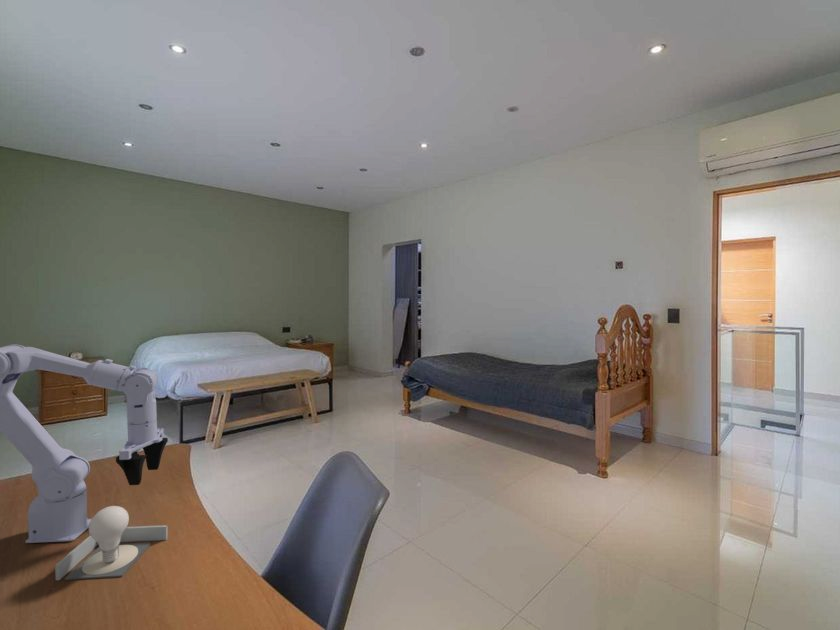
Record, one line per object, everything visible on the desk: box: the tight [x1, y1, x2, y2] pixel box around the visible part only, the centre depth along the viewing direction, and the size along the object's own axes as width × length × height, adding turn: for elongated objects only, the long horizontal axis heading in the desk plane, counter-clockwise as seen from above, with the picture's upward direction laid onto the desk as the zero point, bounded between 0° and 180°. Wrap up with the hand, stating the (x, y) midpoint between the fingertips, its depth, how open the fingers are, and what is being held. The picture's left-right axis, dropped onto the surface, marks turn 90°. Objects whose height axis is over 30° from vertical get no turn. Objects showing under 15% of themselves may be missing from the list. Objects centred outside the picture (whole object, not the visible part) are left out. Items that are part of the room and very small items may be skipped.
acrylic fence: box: [54, 524, 169, 581], centre depth 81 cm, size 15×12×3 cm
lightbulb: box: [88, 505, 130, 562], centre depth 79 cm, size 6×6×11 cm
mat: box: [64, 542, 152, 581], centre depth 80 cm, size 10×10×1 cm
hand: (144, 476), depth 95 cm, fingers open, 7 cm apart
